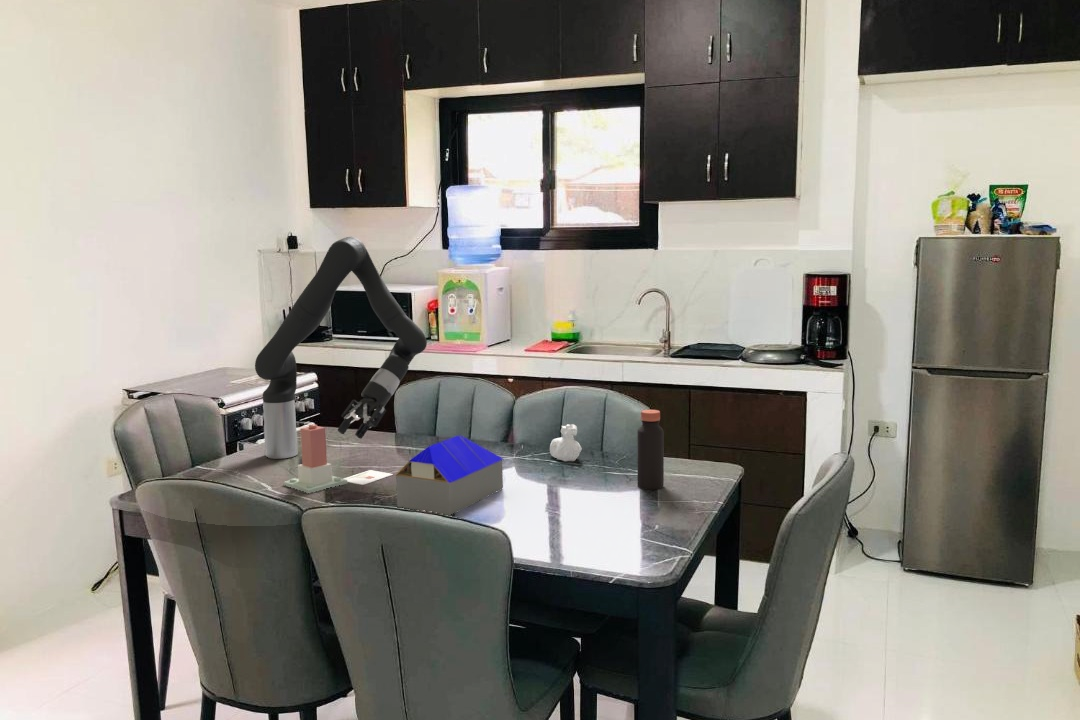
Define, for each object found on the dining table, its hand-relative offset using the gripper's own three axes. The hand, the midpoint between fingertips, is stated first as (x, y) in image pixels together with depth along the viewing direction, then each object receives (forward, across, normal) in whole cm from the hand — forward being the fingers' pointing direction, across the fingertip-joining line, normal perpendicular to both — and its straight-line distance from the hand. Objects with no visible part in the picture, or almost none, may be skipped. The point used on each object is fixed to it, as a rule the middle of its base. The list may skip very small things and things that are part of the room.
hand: (348, 434), depth 238 cm
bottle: (-23, +70, +40) cm, 84 cm away
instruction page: (+7, +5, +10) cm, 13 cm away
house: (+5, +37, +12) cm, 39 cm away
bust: (-29, +34, +46) cm, 64 cm away
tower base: (+16, 0, 0) cm, 16 cm away
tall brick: (+12, 0, -4) cm, 13 cm away
